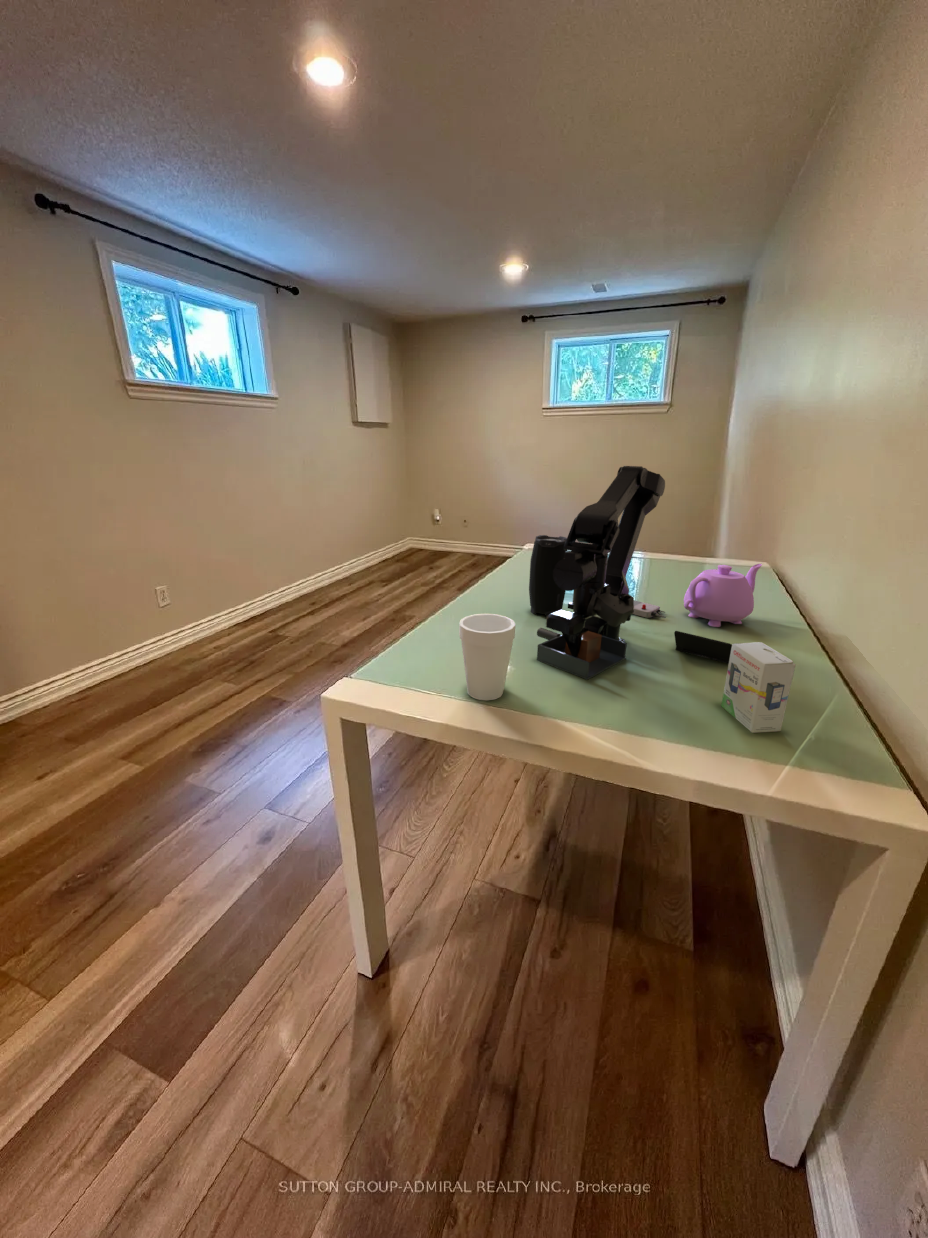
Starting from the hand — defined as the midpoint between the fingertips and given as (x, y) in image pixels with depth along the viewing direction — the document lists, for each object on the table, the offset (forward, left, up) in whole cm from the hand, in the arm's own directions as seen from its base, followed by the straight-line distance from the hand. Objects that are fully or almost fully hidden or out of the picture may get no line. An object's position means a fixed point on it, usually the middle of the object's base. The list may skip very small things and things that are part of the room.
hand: (582, 653), depth 99 cm
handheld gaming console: (-21, +16, -2) cm, 26 cm away
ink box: (-1, +31, -2) cm, 31 cm away
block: (0, 0, -1) cm, 1 cm away
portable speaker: (-18, -23, -2) cm, 29 cm away
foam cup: (+24, -4, -2) cm, 24 cm away
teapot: (-47, +9, -2) cm, 48 cm away
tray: (0, -3, -1) cm, 3 cm away
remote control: (-37, -7, -2) cm, 38 cm away
